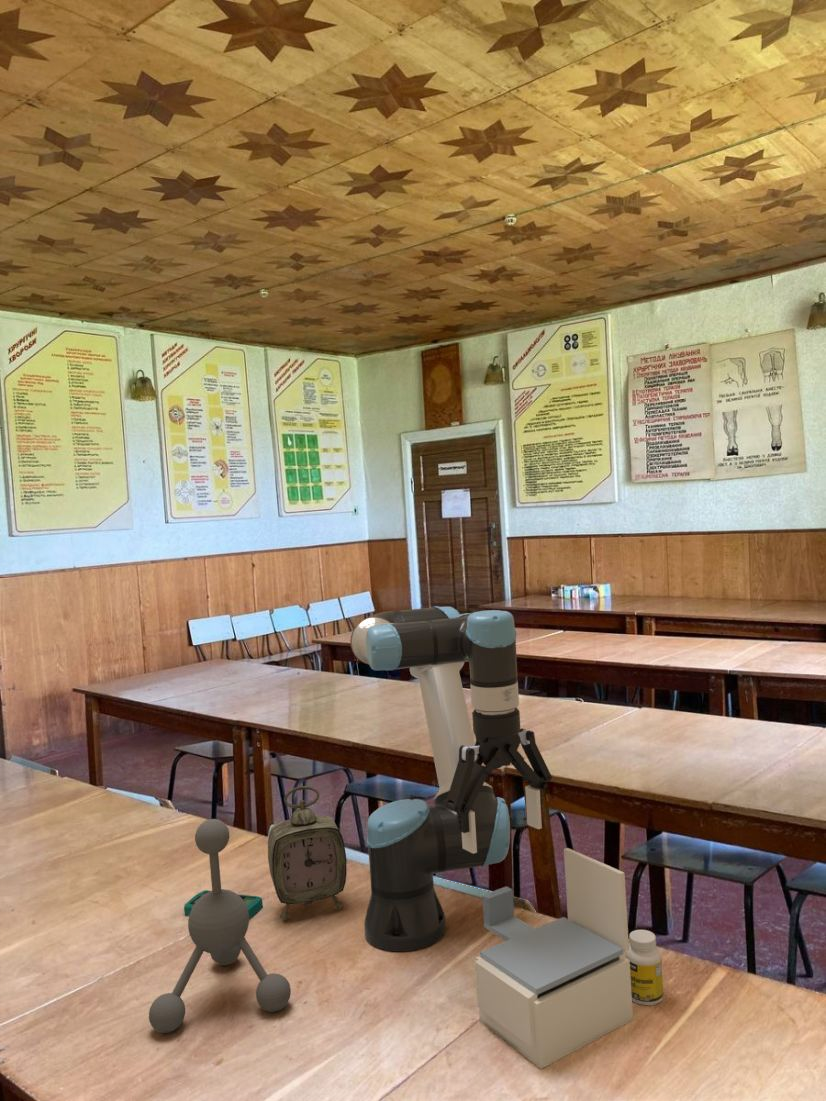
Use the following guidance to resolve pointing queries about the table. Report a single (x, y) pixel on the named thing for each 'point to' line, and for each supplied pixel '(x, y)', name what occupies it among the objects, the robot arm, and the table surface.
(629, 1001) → the carton
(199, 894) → the digital multimeter
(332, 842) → the tabletop clock
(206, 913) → the molecular model
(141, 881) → the table surface
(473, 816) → the robot arm
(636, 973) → the supplement bottle
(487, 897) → the flap
